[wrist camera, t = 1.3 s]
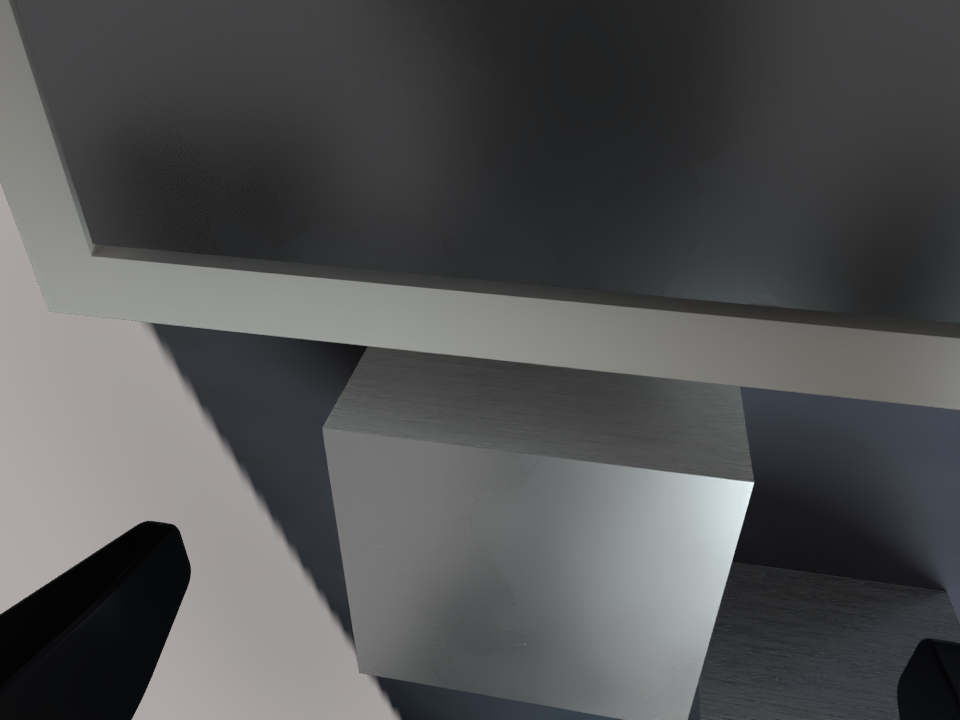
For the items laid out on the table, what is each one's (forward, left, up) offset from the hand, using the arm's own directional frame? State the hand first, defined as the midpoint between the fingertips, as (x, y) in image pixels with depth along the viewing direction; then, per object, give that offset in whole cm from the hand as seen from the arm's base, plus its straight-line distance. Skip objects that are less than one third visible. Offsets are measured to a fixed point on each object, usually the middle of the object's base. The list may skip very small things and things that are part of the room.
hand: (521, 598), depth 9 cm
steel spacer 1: (0, 0, -4) cm, 5 cm away
